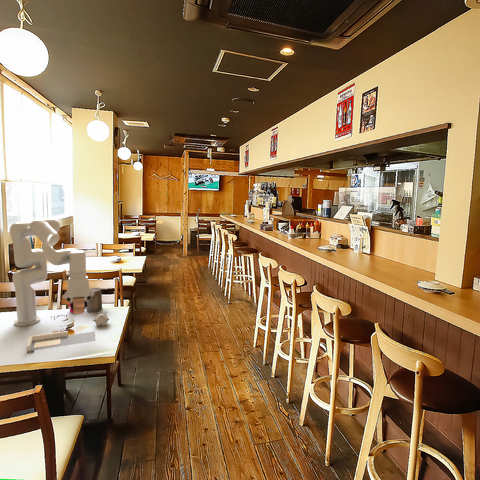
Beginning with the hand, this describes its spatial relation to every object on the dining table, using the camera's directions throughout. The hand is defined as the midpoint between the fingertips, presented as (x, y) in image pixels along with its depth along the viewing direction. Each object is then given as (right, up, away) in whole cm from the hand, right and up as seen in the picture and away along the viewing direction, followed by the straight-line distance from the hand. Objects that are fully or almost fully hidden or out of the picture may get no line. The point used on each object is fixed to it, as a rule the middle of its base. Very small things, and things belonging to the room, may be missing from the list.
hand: (79, 308), depth 168 cm
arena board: (-8, -17, -1) cm, 19 cm away
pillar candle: (-13, -11, +45) cm, 48 cm away
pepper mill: (-23, -11, +42) cm, 49 cm away
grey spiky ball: (+3, -15, +20) cm, 25 cm away
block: (0, -1, 0) cm, 1 cm away
